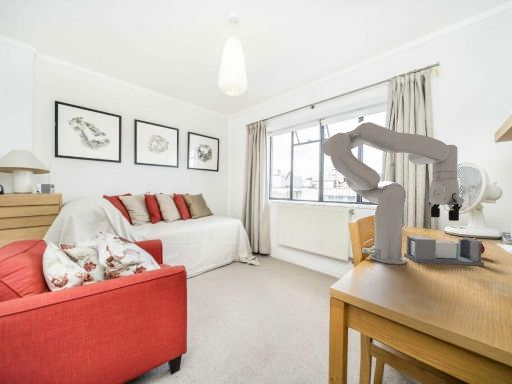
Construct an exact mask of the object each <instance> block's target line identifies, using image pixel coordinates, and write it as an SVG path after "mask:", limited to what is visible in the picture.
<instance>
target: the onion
mask: <svg viewBox="0 0 512 384" xmlns="http://www.w3.org/2000/svg"><path fill="white" fill-rule="evenodd" d="M472 239H475V240H478V239H477V238H476V237H473V238H472ZM485 250H486V248H485V245H484V244H483V243H482V244H481V255H482V254H484V253H485Z"/></svg>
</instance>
